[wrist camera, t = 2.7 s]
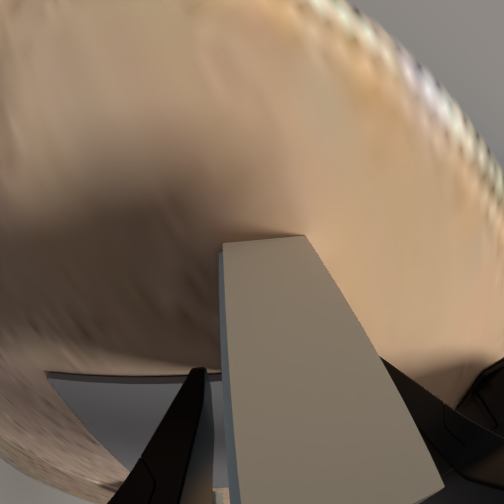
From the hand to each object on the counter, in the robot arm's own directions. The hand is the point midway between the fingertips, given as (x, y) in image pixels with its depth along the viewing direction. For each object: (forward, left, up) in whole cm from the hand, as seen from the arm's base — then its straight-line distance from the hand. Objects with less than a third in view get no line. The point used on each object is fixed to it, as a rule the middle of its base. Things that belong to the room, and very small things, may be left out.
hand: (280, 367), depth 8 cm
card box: (0, 0, -3) cm, 3 cm away
